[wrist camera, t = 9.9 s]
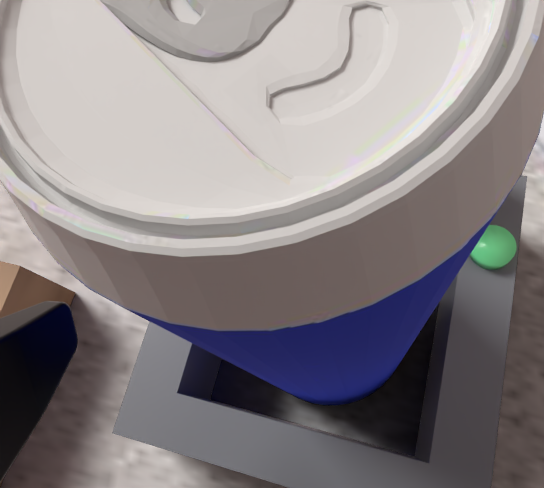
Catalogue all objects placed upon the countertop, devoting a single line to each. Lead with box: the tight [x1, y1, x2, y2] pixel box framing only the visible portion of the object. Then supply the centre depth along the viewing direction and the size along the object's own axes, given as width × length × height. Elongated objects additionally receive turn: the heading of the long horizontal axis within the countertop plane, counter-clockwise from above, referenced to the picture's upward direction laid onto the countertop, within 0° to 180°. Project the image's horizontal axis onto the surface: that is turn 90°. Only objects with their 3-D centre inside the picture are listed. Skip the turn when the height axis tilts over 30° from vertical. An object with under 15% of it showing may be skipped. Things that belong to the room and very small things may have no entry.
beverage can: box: [0, 0, 544, 405], centre depth 11 cm, size 5×5×15 cm
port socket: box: [112, 176, 527, 488], centre depth 15 cm, size 10×10×6 cm
